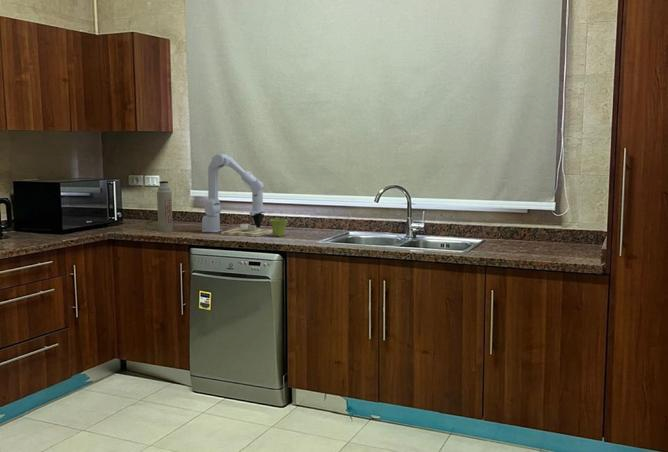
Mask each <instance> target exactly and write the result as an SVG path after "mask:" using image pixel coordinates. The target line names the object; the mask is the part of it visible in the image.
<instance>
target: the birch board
mask: <svg viewBox="0 0 668 452" xmlns="http://www.w3.org/2000/svg"><path fill="white" fill-rule="evenodd" d="M268 234H273V231H272V229H263V228H262V229H261V228H256V230H249V231H241V230H240V227H236V228H233V229H228V230H225V231H224V230H223V231H220V235H221V236H235V237H236V236H237V237H252V236H256V237H257V236H258V237H260V236H261V235H262V236H266V235H268ZM262 236H261V237H262ZM256 237H255V238H256Z"/></svg>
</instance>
